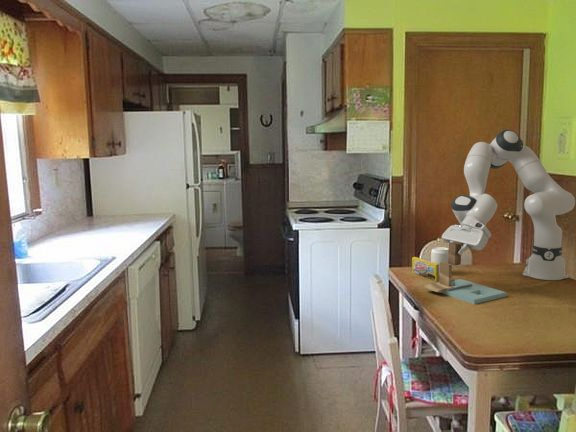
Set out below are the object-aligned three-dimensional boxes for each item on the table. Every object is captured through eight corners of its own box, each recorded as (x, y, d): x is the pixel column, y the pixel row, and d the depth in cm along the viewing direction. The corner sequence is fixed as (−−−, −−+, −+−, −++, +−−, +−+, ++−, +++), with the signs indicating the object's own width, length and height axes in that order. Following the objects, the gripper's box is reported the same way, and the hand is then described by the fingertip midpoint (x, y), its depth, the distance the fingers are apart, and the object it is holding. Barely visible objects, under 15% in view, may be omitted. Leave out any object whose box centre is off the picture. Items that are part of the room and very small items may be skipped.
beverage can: (436, 270, 246) (437, 246, 244) (451, 273, 240) (452, 248, 238) (427, 273, 240) (427, 248, 239) (442, 276, 234) (443, 251, 233)
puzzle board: (460, 284, 222) (460, 277, 221) (505, 298, 202) (506, 290, 201) (429, 291, 213) (430, 283, 212) (474, 306, 193) (474, 297, 193)
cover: (439, 284, 214) (439, 261, 212) (453, 288, 207) (454, 265, 205) (423, 287, 209) (423, 264, 208) (437, 292, 202) (438, 268, 201)
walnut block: (454, 262, 214) (455, 241, 213) (460, 264, 211) (461, 243, 210) (448, 263, 212) (448, 242, 211) (454, 265, 209) (455, 244, 208)
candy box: (411, 274, 240) (411, 257, 239) (414, 273, 241) (415, 256, 240) (435, 282, 226) (436, 264, 225) (439, 281, 227) (440, 263, 226)
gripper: (449, 219, 221) (431, 243, 218) (487, 226, 204) (469, 252, 200) (456, 228, 224) (439, 252, 221) (494, 235, 206) (477, 262, 203)
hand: (453, 252), depth 211 cm, fingers closed on walnut block, 3 cm apart
